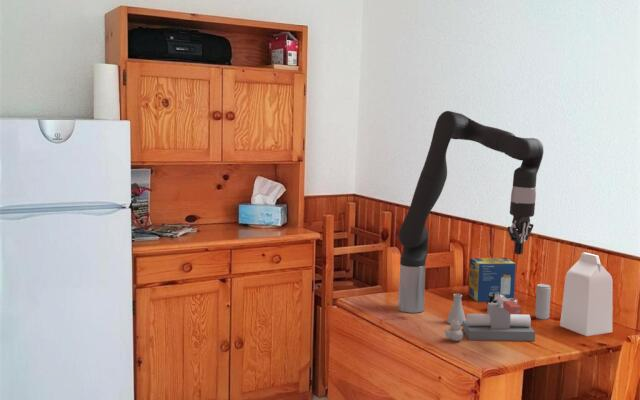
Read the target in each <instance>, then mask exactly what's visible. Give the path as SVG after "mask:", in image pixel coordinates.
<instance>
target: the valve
mask: <svg viewBox="0 0 640 400" xmlns="http://www.w3.org/2000/svg"><path fill="white" fill-rule="evenodd" d="M488 298H489V299H490V300H489V301H487V302H485V303H486V305H488V303H497V301H495V300H492V299H493V298H495V293H493V296H489V297H488ZM508 300H510V301H514V302H516V303H517V304H518V301H519V300H518V299H517V298H514V299H513V298H509V299H508ZM491 301H492V302H491Z"/></svg>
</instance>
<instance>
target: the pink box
mask: <svg viewBox="0 0 640 400" xmlns="http://www.w3.org/2000/svg"><path fill="white" fill-rule="evenodd" d="M495 301H499V302H500V303H501V304H502V305H503V308H504V309H505V310H507V311H508V312H509V313H510V314H522V308H523V307H522V305H519V303H518V302H517V303H516V302H514V301H510V300H508V299H507V298H506V297H504V295H502V294H495Z"/></svg>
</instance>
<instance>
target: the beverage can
mask: <svg viewBox="0 0 640 400" xmlns="http://www.w3.org/2000/svg"><path fill="white" fill-rule="evenodd" d="M551 287H552V286H551V285H550V284H546V283H538V284H537V285H536V292H535V293H536V296H535V313H534V316H535V318H536V319H538V320H546V321H547V320H548V319H550V311H551V309H550V308H551V291H552V290H551V289H552V288H551Z"/></svg>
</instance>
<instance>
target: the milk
mask: <svg viewBox="0 0 640 400" xmlns="http://www.w3.org/2000/svg"><path fill="white" fill-rule="evenodd" d="M613 283H614V282H613V277H612V275H611V273H609V271H608V270H606V268H605V267H604V266H603V264H602V263H601V260H600V256H599V255H596V254H593V253H589V252H581V255H580V257H579V259H578V260H577V261H576V262H575V264H573V265H572V266H571V267H570V268H569V269H568V270H567V271H566V274H565V279H564V288H563V295H562V305H561V315H560V321H559V326H560V327H561V328H564V329H567V330H570V331H572V332H575V333H577V334H580V335H582V336H584V337H590V336H597V335H604V334H608V333H613V301H614V300H613V298H614V295H613V293H614V292H613V289H614V288H613V287H614V286H613Z"/></svg>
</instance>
